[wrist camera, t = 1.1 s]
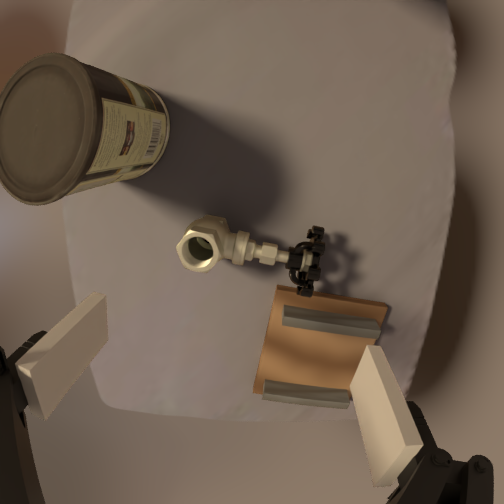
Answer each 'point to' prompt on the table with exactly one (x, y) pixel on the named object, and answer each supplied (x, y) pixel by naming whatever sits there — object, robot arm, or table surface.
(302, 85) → the table surface
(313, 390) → the board
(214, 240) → the valve
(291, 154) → the table surface
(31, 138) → the coffee can
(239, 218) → the table surface
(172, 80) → the table surface
